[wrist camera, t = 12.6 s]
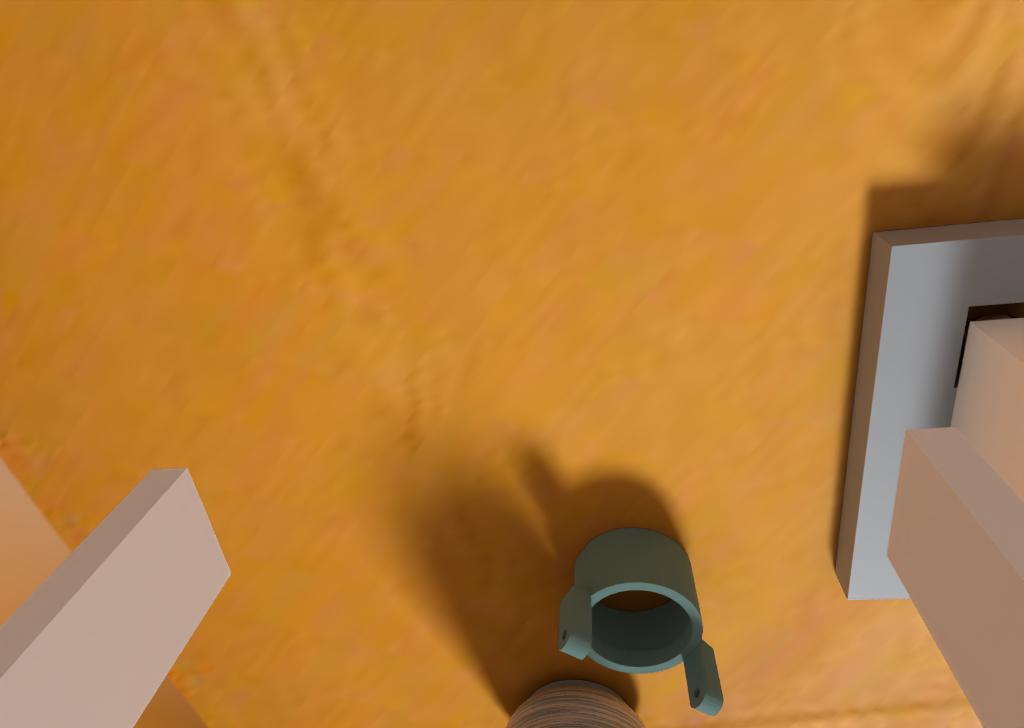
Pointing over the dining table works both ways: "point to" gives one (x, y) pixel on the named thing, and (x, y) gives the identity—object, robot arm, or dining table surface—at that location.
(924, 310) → the board
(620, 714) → the vase
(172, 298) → the dining table surface
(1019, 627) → the robot arm
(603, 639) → the bracket
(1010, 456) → the block
